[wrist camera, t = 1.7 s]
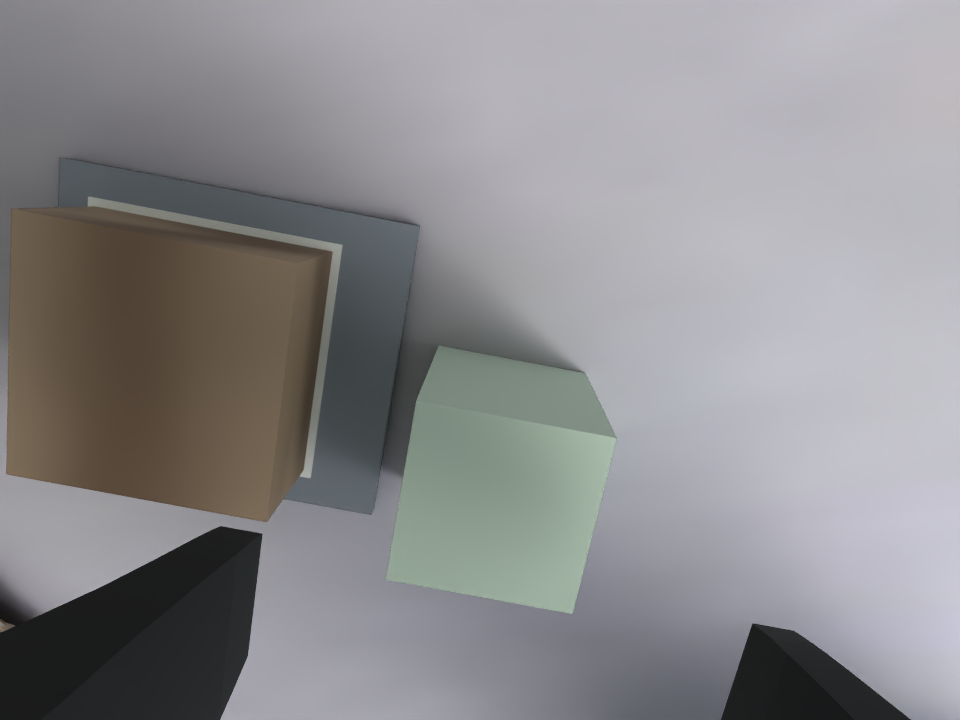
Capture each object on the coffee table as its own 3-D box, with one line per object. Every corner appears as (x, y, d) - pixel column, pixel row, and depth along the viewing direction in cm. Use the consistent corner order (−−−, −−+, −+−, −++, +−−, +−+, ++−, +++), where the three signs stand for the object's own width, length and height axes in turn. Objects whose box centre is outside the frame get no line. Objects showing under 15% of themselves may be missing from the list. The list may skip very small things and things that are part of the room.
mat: (420, 225, 17) (417, 226, 17) (374, 508, 19) (370, 516, 19) (70, 158, 17) (57, 157, 17) (58, 450, 19) (46, 457, 19)
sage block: (585, 373, 18) (616, 437, 13) (554, 507, 19) (572, 613, 14) (438, 345, 18) (416, 400, 13) (414, 481, 19) (385, 579, 14)
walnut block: (332, 251, 17) (298, 263, 14) (303, 470, 18) (266, 522, 15) (95, 206, 17) (11, 208, 14) (85, 429, 18) (6, 474, 15)
